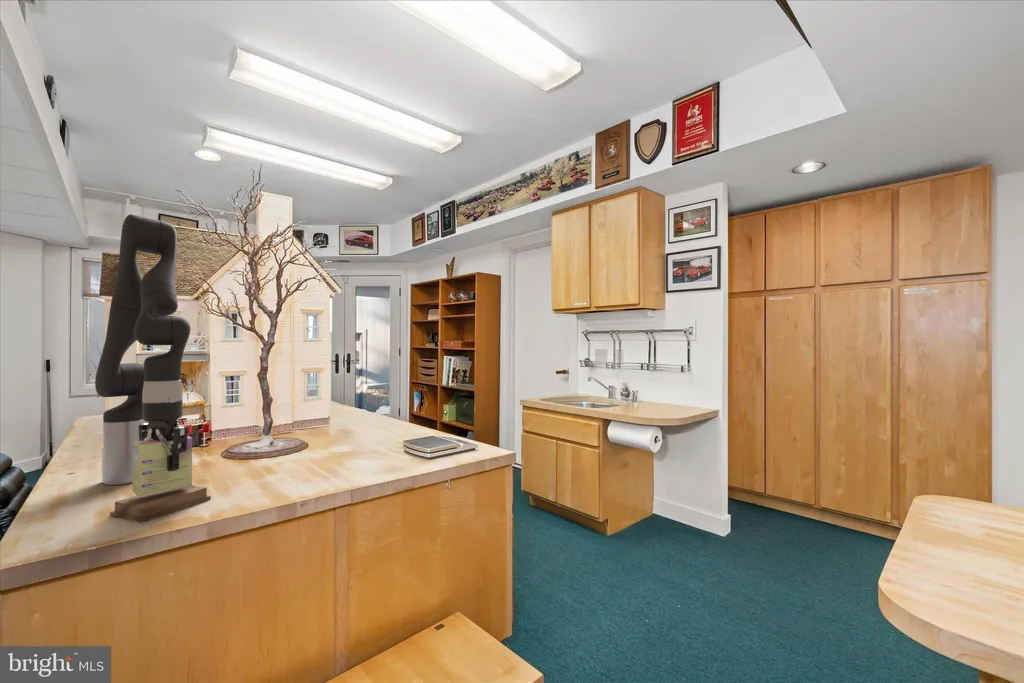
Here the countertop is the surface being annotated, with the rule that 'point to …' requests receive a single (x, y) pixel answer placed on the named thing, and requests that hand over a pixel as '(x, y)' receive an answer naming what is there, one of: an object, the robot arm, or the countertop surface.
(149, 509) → the plinth
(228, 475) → the countertop surface
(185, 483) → the box
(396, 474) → the countertop surface
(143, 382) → the robot arm
